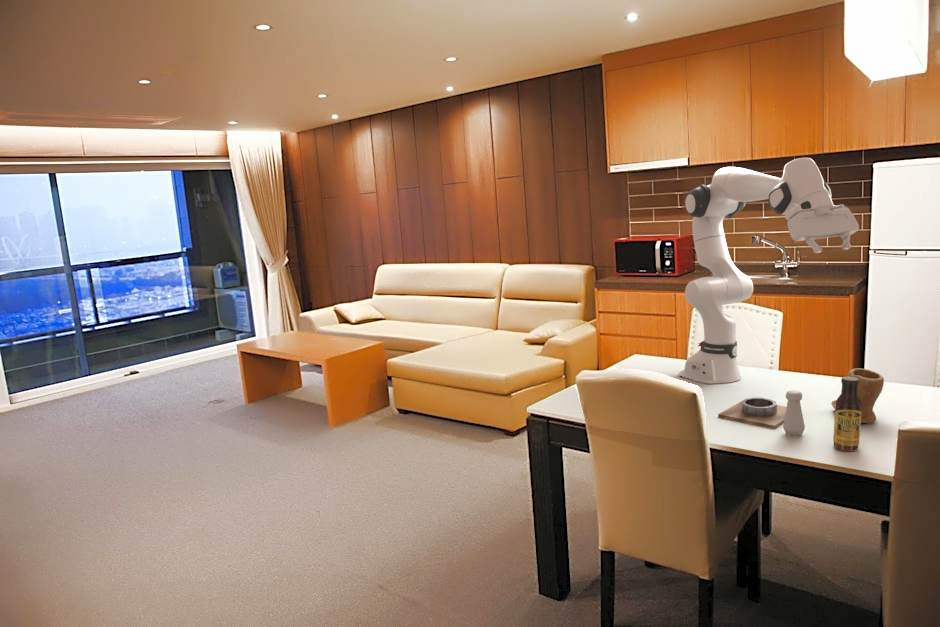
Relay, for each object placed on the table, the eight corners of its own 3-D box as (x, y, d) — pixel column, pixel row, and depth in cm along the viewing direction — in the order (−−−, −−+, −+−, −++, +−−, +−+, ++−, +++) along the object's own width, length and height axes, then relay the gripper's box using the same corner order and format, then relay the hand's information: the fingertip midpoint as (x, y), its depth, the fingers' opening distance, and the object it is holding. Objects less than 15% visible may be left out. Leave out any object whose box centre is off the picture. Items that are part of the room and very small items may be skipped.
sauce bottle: (834, 451, 183) (835, 381, 179) (831, 443, 189) (832, 374, 185) (862, 453, 181) (864, 381, 177) (858, 444, 186) (860, 375, 183)
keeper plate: (718, 417, 216) (718, 414, 215) (745, 402, 227) (745, 399, 227) (774, 428, 202) (774, 425, 202) (800, 412, 214) (800, 409, 214)
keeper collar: (736, 413, 215) (736, 404, 214) (751, 404, 221) (751, 395, 221) (767, 419, 208) (767, 409, 207) (782, 410, 214) (782, 401, 214)
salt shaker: (779, 431, 200) (779, 389, 198) (799, 430, 200) (799, 387, 198) (788, 438, 194) (788, 395, 192) (808, 437, 194) (808, 393, 192)
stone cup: (887, 426, 197) (889, 376, 194) (842, 425, 200) (843, 377, 198) (872, 409, 211) (873, 362, 209) (830, 408, 215) (831, 363, 212)
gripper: (839, 209, 202) (856, 251, 197) (779, 216, 198) (795, 258, 193) (853, 199, 196) (871, 241, 192) (792, 205, 192) (809, 249, 187)
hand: (833, 250), depth 192 cm, fingers open, 8 cm apart
